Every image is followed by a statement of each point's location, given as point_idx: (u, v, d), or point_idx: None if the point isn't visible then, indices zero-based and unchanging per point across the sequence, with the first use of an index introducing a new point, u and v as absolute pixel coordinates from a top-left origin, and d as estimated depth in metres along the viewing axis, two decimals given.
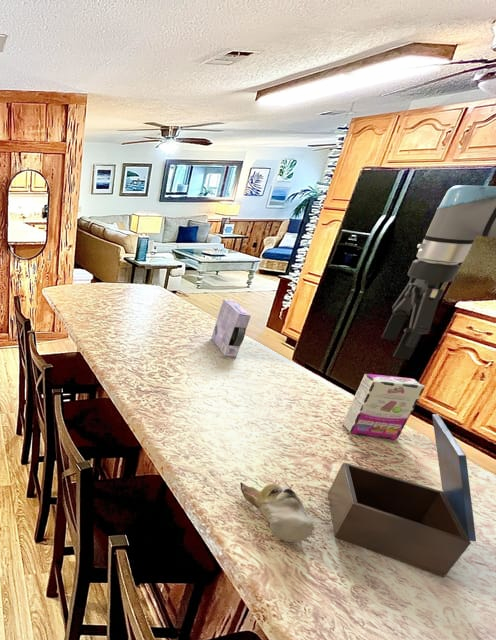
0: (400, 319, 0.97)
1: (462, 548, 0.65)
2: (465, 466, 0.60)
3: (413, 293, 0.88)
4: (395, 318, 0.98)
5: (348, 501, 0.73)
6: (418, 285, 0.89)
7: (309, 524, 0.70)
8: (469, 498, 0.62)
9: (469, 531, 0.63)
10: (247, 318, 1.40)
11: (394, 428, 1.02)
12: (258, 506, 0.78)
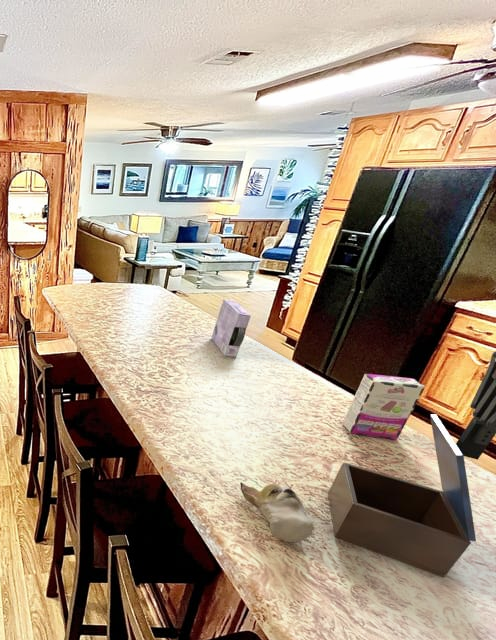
0: None
1: (462, 548, 0.65)
2: (463, 466, 0.61)
3: None
4: None
5: (348, 501, 0.73)
6: None
7: (309, 524, 0.70)
8: (468, 498, 0.62)
9: (469, 531, 0.63)
10: (247, 318, 1.40)
11: (394, 428, 1.02)
12: (258, 506, 0.78)
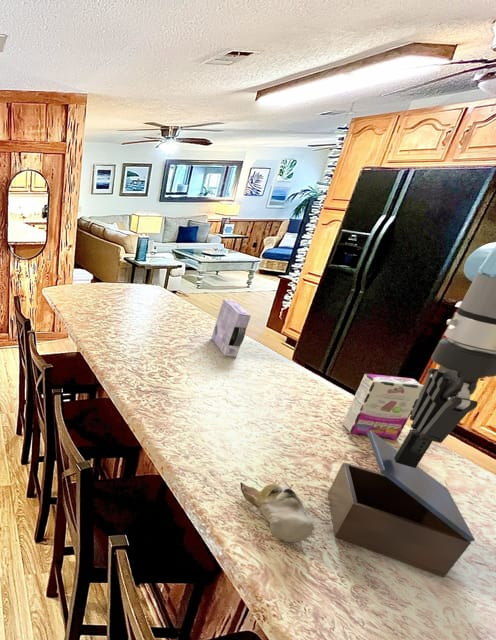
0: None
1: (462, 548, 0.65)
2: (394, 478, 0.66)
3: (438, 386, 0.63)
4: None
5: (348, 501, 0.73)
6: None
7: (309, 524, 0.70)
8: (426, 503, 0.65)
9: (460, 533, 0.64)
10: (247, 318, 1.40)
11: (394, 428, 1.02)
12: (258, 506, 0.78)
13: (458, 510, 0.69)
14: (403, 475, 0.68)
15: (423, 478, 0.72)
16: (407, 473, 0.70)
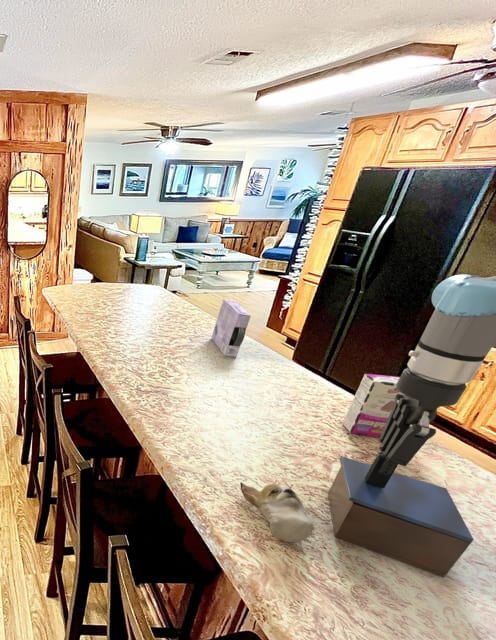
0: None
1: (462, 548, 0.65)
2: (363, 502, 0.70)
3: (402, 413, 0.67)
4: None
5: (348, 501, 0.73)
6: None
7: (309, 524, 0.70)
8: (406, 517, 0.67)
9: (456, 536, 0.65)
10: (247, 318, 1.40)
11: None
12: (258, 506, 0.78)
13: (456, 510, 0.69)
14: (377, 494, 0.72)
15: (409, 487, 0.74)
16: (384, 490, 0.73)
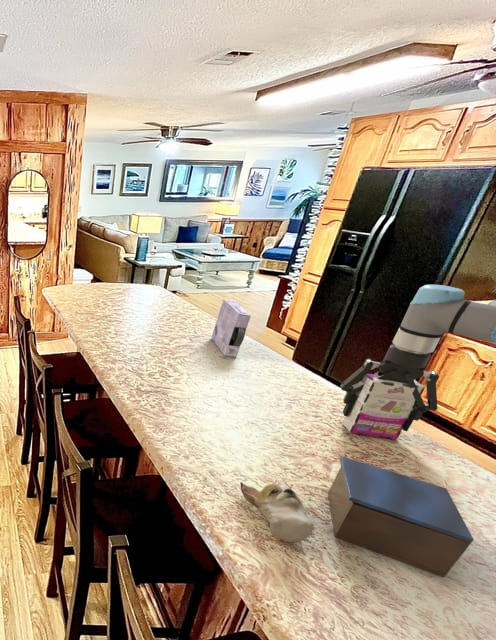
0: (412, 411, 0.99)
1: (462, 548, 0.65)
2: (363, 502, 0.70)
3: None
4: None
5: (348, 501, 0.73)
6: None
7: (309, 524, 0.70)
8: (406, 517, 0.67)
9: (456, 536, 0.65)
10: (247, 318, 1.40)
11: (394, 428, 1.02)
12: (258, 506, 0.78)
13: (456, 510, 0.69)
14: (377, 494, 0.72)
15: (409, 487, 0.74)
16: (384, 490, 0.73)
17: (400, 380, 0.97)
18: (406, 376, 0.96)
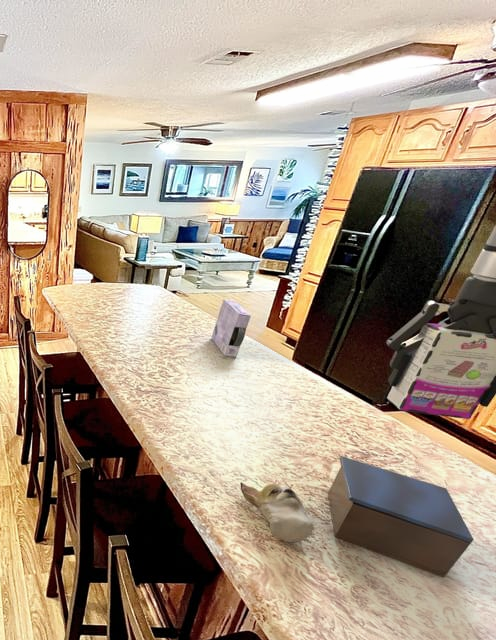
0: None
1: (462, 548, 0.65)
2: (363, 502, 0.70)
3: None
4: None
5: (348, 501, 0.73)
6: None
7: (309, 524, 0.70)
8: (406, 517, 0.67)
9: (456, 536, 0.65)
10: (247, 318, 1.40)
11: (467, 402, 0.70)
12: (258, 506, 0.78)
13: (456, 510, 0.69)
14: (377, 494, 0.72)
15: (409, 487, 0.74)
16: (384, 490, 0.73)
17: (481, 329, 0.66)
18: (492, 322, 0.64)
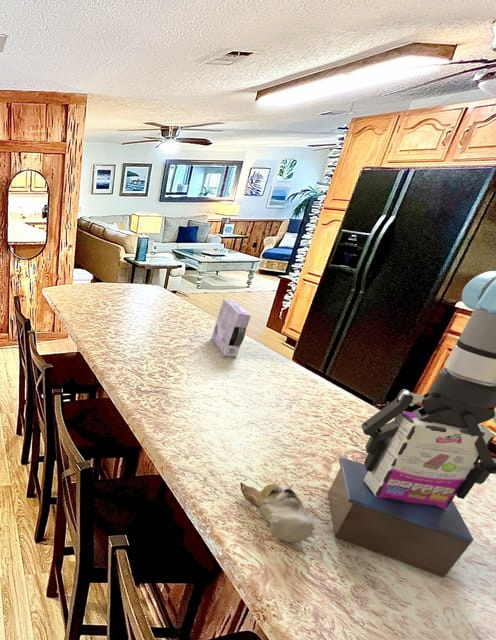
0: None
1: (462, 548, 0.65)
2: (362, 503, 0.70)
3: None
4: None
5: None
6: None
7: (309, 524, 0.70)
8: (406, 518, 0.67)
9: (456, 537, 0.65)
10: (247, 318, 1.40)
11: (444, 493, 0.68)
12: (258, 506, 0.78)
13: (456, 510, 0.69)
14: None
15: None
16: None
17: (456, 424, 0.64)
18: (466, 419, 0.62)
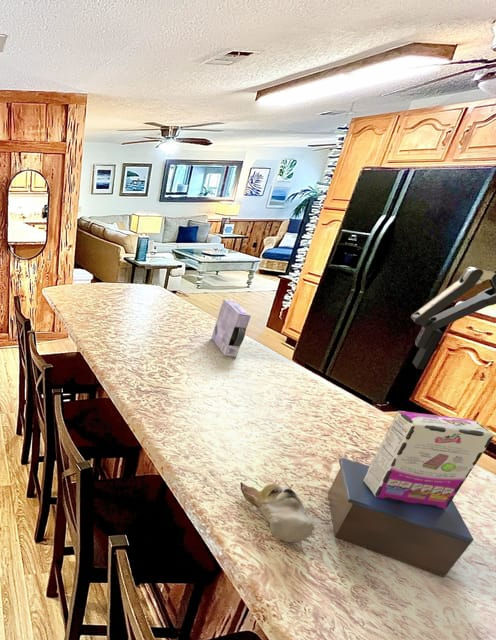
0: None
1: (462, 548, 0.65)
2: (362, 504, 0.70)
3: None
4: None
5: None
6: None
7: (309, 524, 0.70)
8: (405, 518, 0.67)
9: (456, 537, 0.65)
10: (247, 318, 1.40)
11: (443, 493, 0.68)
12: (258, 506, 0.78)
13: (456, 510, 0.69)
14: None
15: None
16: None
17: None
18: None
